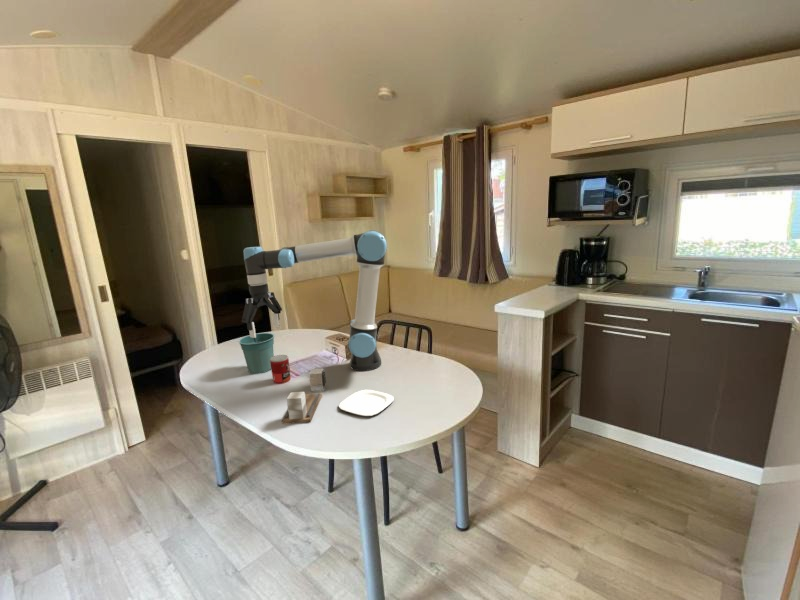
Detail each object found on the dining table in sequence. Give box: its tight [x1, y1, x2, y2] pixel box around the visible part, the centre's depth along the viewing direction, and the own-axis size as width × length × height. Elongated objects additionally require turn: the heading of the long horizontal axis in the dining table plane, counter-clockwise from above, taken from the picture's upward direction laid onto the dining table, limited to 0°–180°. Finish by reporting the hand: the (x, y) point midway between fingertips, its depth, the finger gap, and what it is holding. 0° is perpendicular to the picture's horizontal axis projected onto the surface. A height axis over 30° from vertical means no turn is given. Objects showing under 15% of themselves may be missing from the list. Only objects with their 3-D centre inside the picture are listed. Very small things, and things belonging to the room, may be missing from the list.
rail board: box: [281, 391, 323, 425], centre depth 142 cm, size 10×20×9 cm, turn 0°
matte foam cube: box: [309, 368, 327, 393], centre depth 159 cm, size 6×5×8 cm
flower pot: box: [238, 332, 275, 375], centre depth 184 cm, size 16×16×16 cm
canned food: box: [270, 354, 292, 385], centre depth 170 cm, size 8×8×11 cm
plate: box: [338, 389, 395, 417], centre depth 144 cm, size 18×18×2 cm
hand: (265, 332), depth 163 cm, fingers open, 13 cm apart
